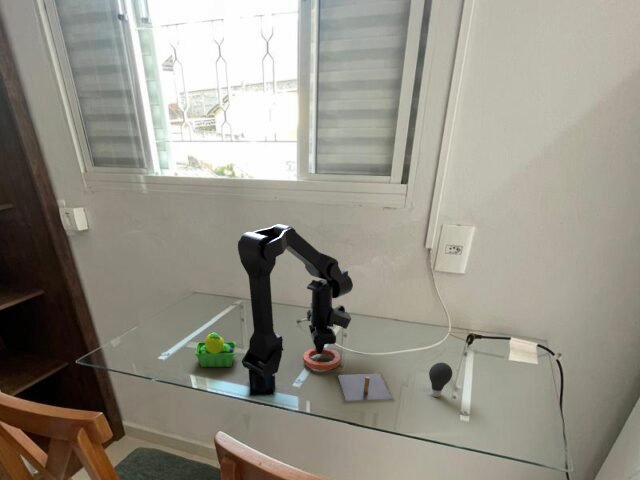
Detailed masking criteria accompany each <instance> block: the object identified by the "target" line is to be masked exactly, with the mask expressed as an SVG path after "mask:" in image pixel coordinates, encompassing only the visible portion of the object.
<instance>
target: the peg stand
mask: <svg viewBox="0 0 640 480" xmlns="http://www.w3.org/2000/svg"><path fill="white" fill-rule="evenodd" d="M337 377H338V381H339V384H340V387H341V391H342V393H343V396H344V400H345V401H346V402H349V401H350V402H353V401H377V400H378V401H379V400H393V397H392V395H391V393H390V391H389V389H388V386H387V384H386V382H385V381H384V378H383V377H382V374H381V373H357V374H356V373H355V374H337Z"/></svg>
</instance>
